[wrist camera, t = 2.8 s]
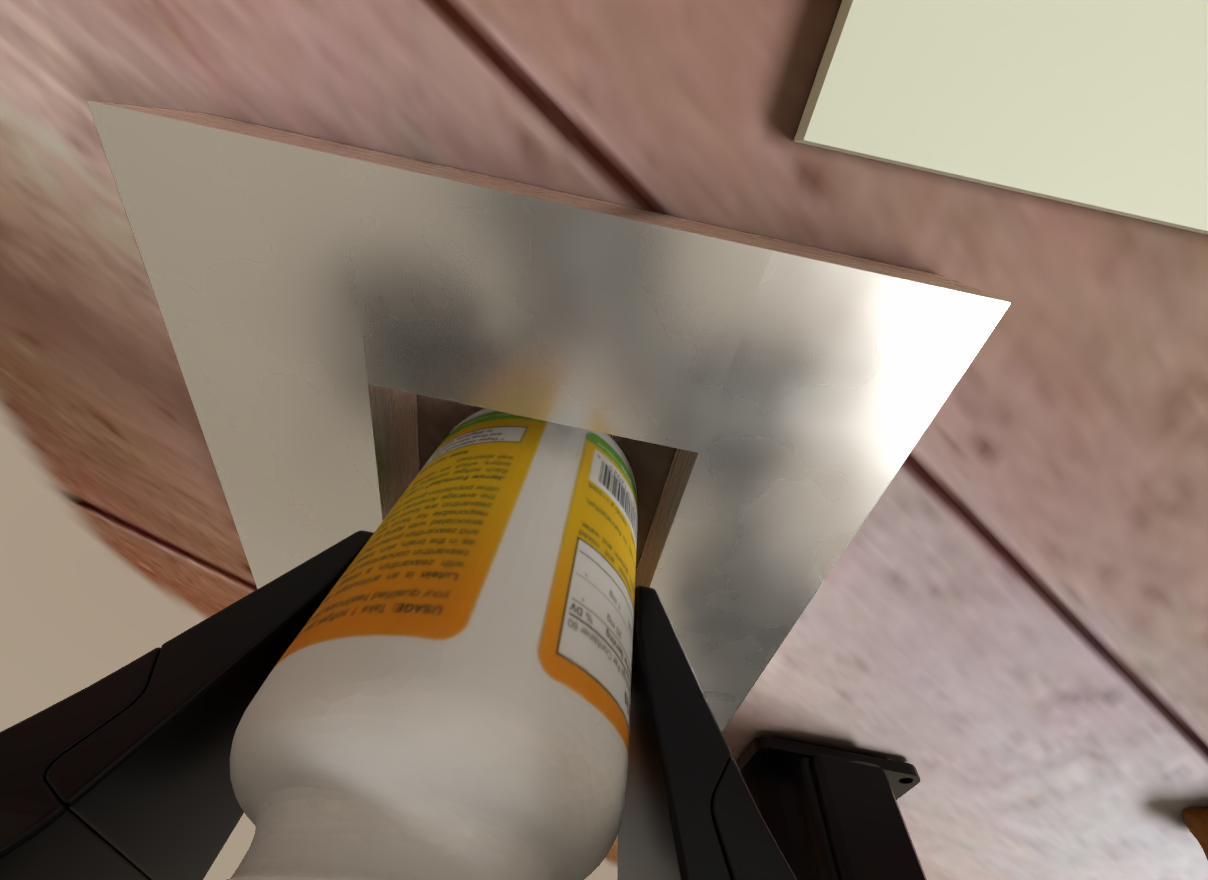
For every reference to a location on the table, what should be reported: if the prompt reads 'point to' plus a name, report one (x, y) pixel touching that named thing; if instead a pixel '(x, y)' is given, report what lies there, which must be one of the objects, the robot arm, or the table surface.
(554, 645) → the supplement bottle
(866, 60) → the sage pad
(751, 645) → the post foot
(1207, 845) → the primitive tool
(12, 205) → the table surface
